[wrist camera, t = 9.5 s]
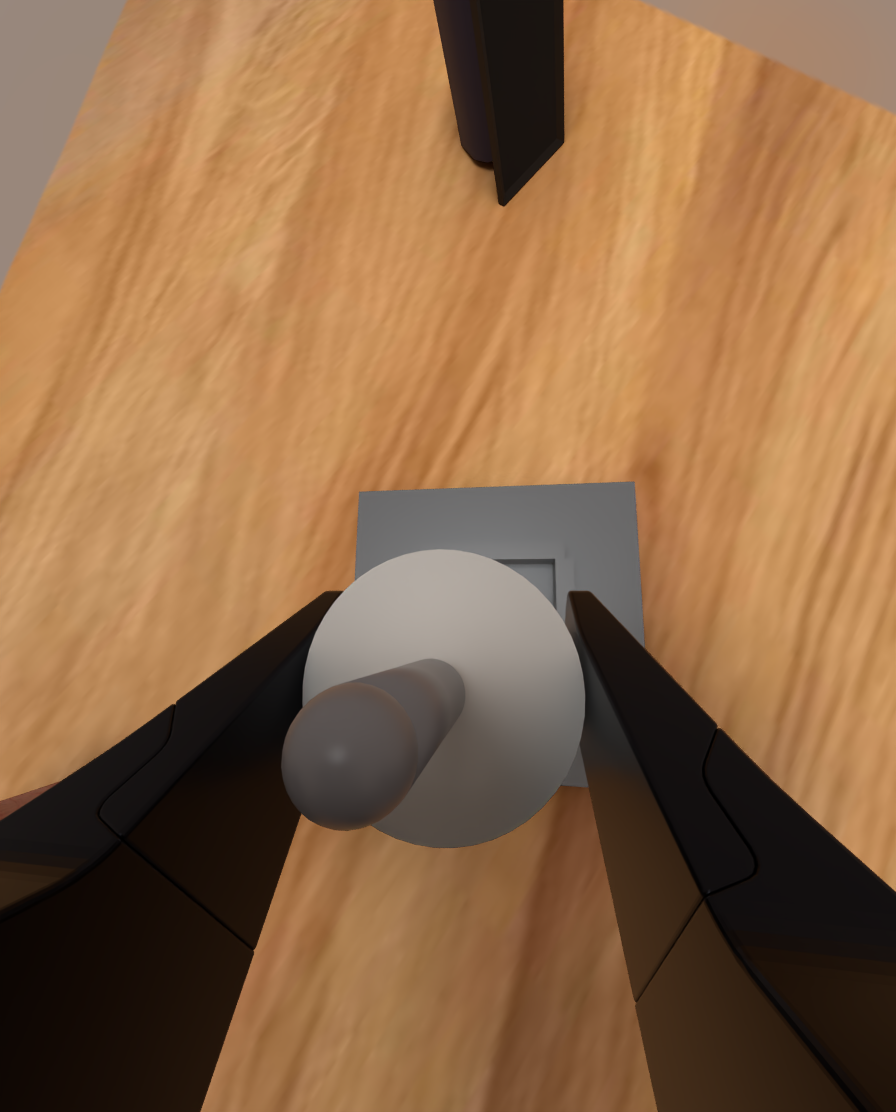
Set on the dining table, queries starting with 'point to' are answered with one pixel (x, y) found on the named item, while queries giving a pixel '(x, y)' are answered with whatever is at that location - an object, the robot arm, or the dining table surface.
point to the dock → (521, 541)
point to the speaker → (506, 82)
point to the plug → (435, 703)
